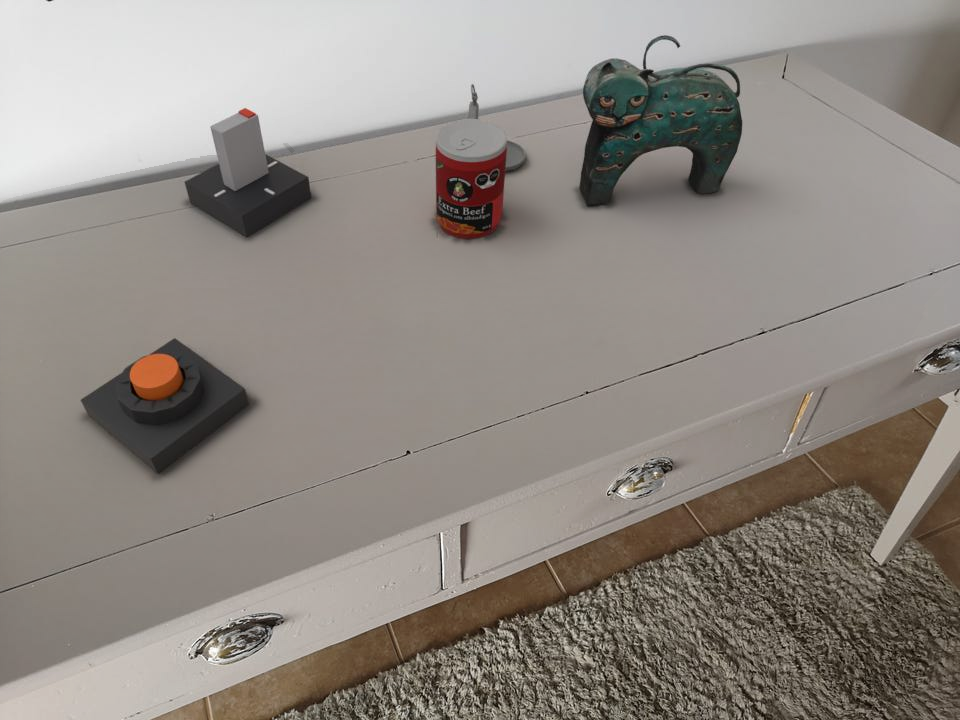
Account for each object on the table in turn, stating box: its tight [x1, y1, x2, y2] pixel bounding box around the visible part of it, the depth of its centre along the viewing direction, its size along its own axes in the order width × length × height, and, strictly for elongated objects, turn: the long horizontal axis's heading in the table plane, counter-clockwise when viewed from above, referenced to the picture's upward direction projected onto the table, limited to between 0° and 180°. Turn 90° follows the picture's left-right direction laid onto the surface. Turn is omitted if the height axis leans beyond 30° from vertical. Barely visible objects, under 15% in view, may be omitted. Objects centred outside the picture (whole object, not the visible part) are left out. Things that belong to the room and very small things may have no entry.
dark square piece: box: [80, 337, 250, 475], centre depth 69 cm, size 10×10×4 cm
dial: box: [210, 107, 269, 191], centre depth 87 cm, size 5×2×8 cm, turn 142°
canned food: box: [435, 118, 508, 239], centre depth 88 cm, size 8×8×11 cm
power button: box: [130, 354, 183, 401], centre depth 67 cm, size 4×4×2 cm
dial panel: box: [184, 153, 312, 238], centre depth 91 cm, size 10×10×3 cm
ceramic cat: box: [578, 34, 743, 207], centre depth 90 cm, size 20×6×20 cm, turn 101°
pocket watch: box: [467, 83, 526, 172], centre depth 97 cm, size 8×8×10 cm
